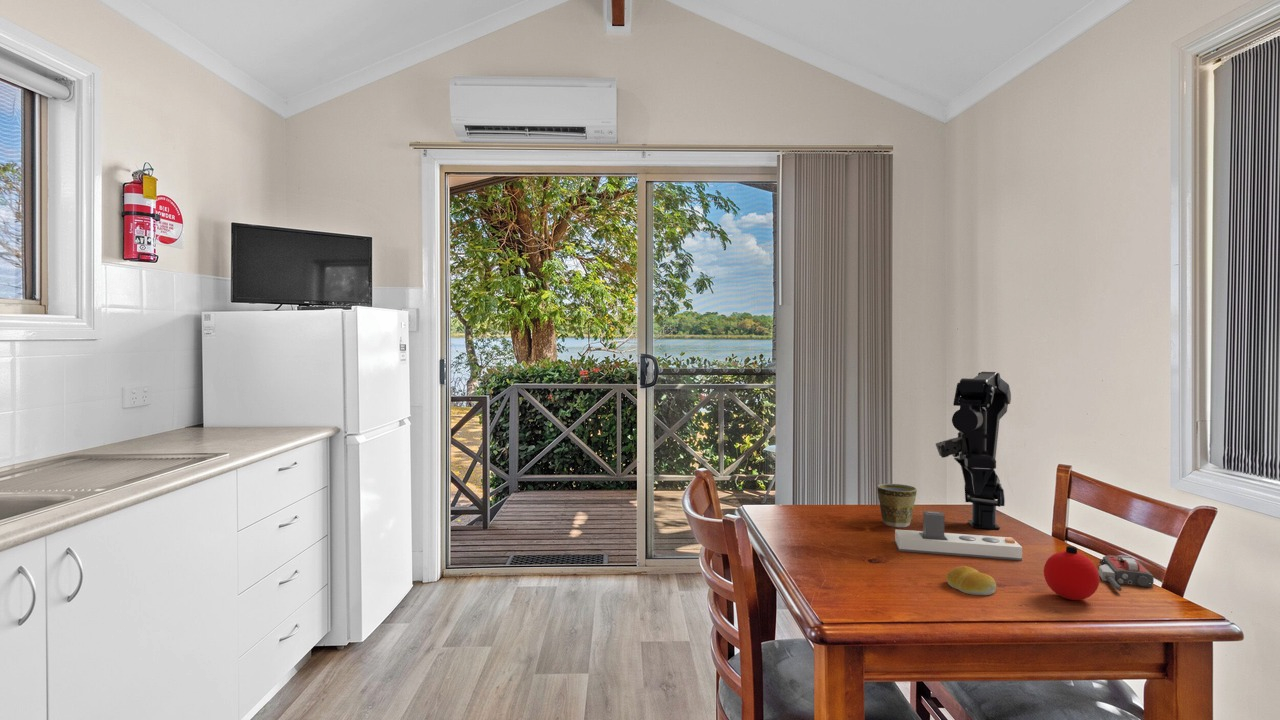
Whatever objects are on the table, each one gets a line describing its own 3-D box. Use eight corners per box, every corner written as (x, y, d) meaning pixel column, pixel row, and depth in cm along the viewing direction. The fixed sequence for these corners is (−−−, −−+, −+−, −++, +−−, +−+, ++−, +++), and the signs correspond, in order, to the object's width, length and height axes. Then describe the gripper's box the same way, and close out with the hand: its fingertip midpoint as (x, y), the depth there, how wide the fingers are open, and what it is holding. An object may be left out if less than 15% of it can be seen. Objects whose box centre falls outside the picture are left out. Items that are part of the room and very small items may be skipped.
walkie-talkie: (1088, 565, 150) (1112, 595, 131) (1089, 545, 149) (1112, 573, 131) (1136, 570, 146) (1167, 602, 128) (1137, 550, 146) (1168, 579, 128)
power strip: (895, 541, 165) (895, 526, 165) (1011, 550, 159) (1012, 535, 159) (899, 550, 157) (899, 535, 157) (1022, 560, 151) (1022, 544, 151)
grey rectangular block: (922, 543, 162) (923, 510, 162) (940, 545, 161) (941, 511, 161) (925, 548, 158) (926, 514, 158) (943, 549, 157) (944, 515, 157)
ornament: (1108, 609, 123) (1109, 555, 123) (1055, 605, 125) (1056, 552, 124) (1085, 591, 132) (1086, 541, 132) (1035, 588, 134) (1036, 538, 133)
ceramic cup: (922, 529, 177) (922, 491, 176) (884, 528, 177) (884, 491, 177) (903, 516, 190) (904, 481, 189) (868, 516, 190) (868, 481, 190)
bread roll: (974, 599, 128) (975, 578, 128) (939, 583, 136) (939, 564, 136) (1007, 594, 131) (1007, 573, 131) (970, 579, 139) (970, 559, 139)
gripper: (932, 423, 179) (931, 481, 179) (946, 432, 161) (944, 496, 161) (977, 425, 176) (976, 484, 176) (997, 433, 158) (995, 499, 158)
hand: (972, 490), depth 168 cm, fingers open, 9 cm apart
